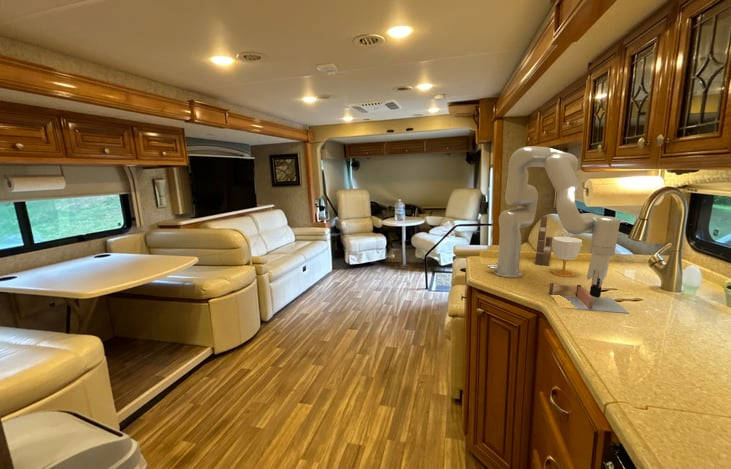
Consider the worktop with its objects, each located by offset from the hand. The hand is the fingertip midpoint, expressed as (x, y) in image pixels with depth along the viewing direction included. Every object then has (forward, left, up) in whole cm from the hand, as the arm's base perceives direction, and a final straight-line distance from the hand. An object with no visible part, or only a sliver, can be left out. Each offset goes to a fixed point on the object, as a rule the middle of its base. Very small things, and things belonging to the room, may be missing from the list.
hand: (594, 296), depth 126 cm
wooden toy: (-5, +54, -2) cm, 54 cm away
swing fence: (-4, -4, -1) cm, 6 cm away
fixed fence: (-9, +3, -2) cm, 10 cm away
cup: (-1, +34, -2) cm, 34 cm away
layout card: (-4, -2, -2) cm, 5 cm away
